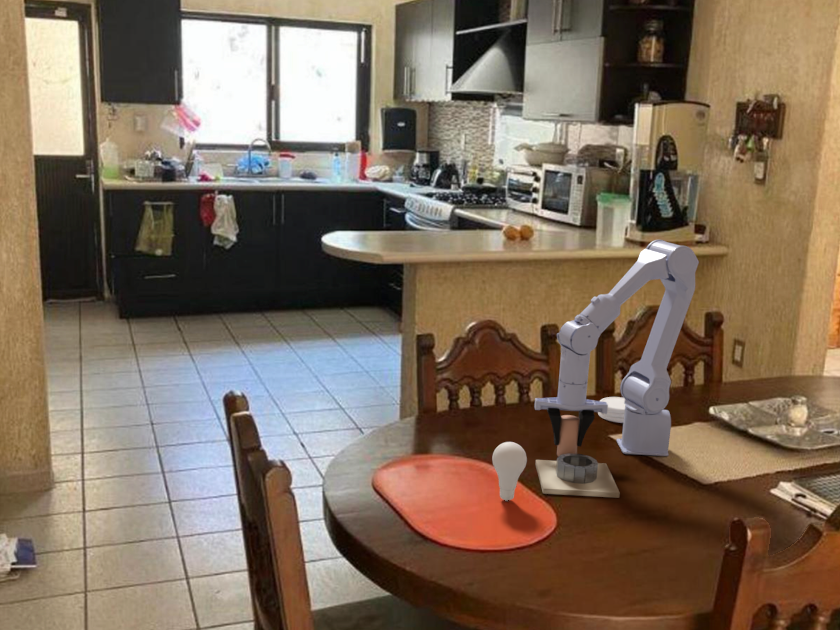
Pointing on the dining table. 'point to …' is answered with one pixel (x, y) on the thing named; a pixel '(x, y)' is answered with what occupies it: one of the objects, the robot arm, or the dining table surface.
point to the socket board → (576, 476)
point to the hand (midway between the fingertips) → (567, 444)
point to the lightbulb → (508, 467)
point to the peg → (568, 435)
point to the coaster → (614, 409)
